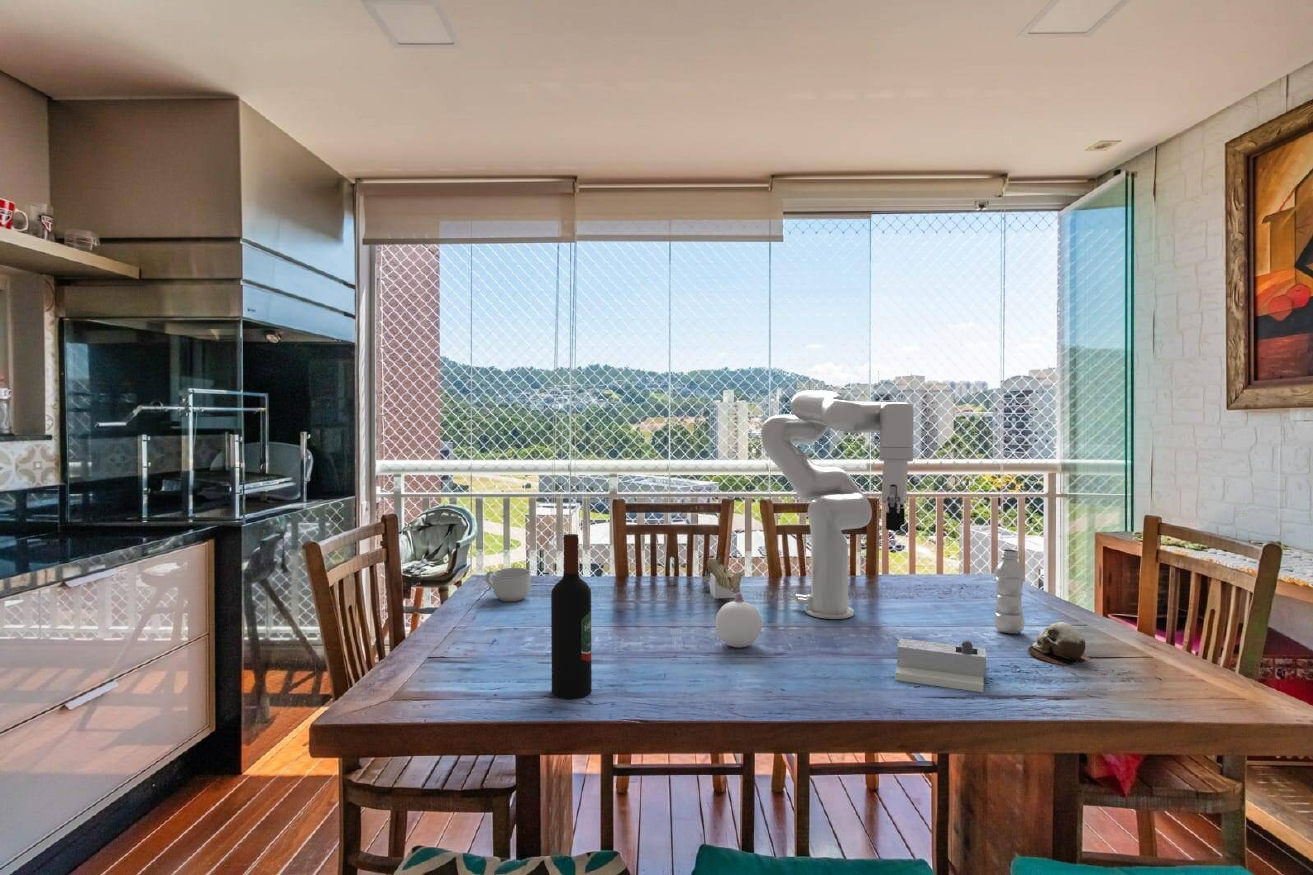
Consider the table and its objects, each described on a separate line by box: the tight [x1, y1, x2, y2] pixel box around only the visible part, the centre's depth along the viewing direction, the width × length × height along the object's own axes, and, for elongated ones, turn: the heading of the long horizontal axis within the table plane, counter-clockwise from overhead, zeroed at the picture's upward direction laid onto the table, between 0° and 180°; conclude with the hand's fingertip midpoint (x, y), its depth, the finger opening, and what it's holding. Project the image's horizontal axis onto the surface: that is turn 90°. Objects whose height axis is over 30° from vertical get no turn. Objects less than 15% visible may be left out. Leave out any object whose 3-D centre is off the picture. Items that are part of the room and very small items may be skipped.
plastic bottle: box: [993, 548, 1025, 635], centre depth 175 cm, size 6×7×20 cm
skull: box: [1027, 621, 1092, 667], centre depth 158 cm, size 12×10×10 cm
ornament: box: [714, 593, 763, 648], centre depth 165 cm, size 10×10×12 cm
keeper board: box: [894, 640, 985, 693], centre depth 147 cm, size 16×14×8 cm
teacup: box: [485, 567, 531, 603], centre depth 209 cm, size 14×11×8 cm
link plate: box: [896, 638, 987, 679], centre depth 147 cm, size 16×6×4 cm, turn 66°
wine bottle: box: [550, 533, 593, 700], centre depth 138 cm, size 8×8×30 cm
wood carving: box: [702, 556, 743, 599], centre depth 210 cm, size 9×35×11 cm, turn 8°
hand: (895, 527), depth 171 cm, fingers open, 9 cm apart
